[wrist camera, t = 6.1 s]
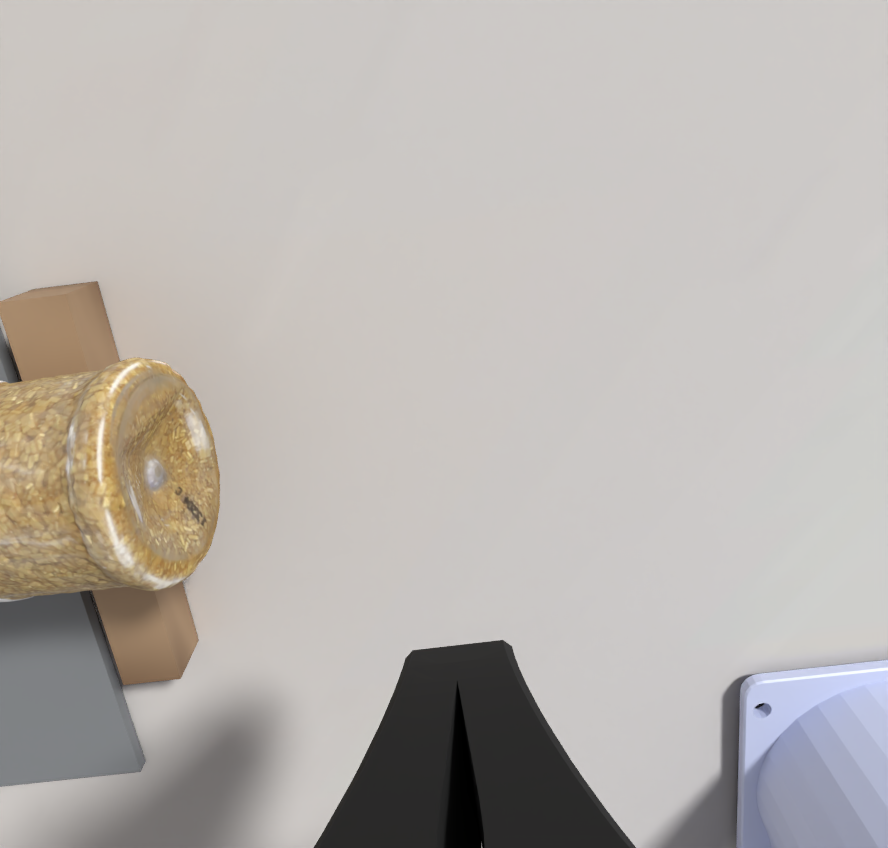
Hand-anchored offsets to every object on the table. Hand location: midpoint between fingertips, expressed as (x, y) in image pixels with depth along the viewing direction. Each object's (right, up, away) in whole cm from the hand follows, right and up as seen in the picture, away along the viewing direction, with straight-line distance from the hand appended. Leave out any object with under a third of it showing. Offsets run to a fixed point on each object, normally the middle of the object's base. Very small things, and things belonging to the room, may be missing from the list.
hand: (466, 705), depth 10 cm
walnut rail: (-8, +2, +9) cm, 13 cm away
